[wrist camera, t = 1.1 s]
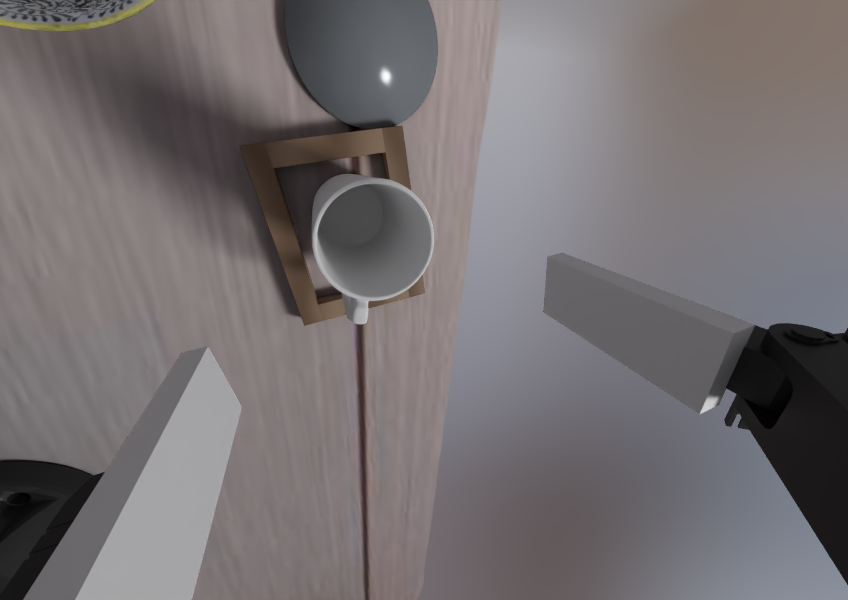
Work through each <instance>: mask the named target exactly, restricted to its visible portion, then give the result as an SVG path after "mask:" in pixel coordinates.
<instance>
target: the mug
mask: <svg viewBox="0 0 848 600" xmlns="http://www.w3.org/2000/svg"><path fill="white" fill-rule="evenodd" d="M433 246H434V230H433V225H432V221H431V218H430V215H429V213H428V211H427V209H426V207H425V206H424V204H423V203H422V201H421V200H420V199H419V198H418V197H417V196H416V195H415V194H414V193H413V192H412V191H411V190H409V189H408V188H407V187H405V186H403V185H401V184H400V183H397V182H395V181H392V180H389V179H383V178H374V177H368V176H362V175H356V174H340V175H336V176H334V177H332V178H330V179H328V180H327V181H326V182H324V183H323V184H322V185H321V187H320V188H319V189H318V191H317V193H316V195H315V198H314V202H313V208H312V248H313V254H314V257H315V261H316V263H317V266H318V268H319V269H320V271H321V273H322V274H323V276H324V277H325V279H326V280H327V281H328V282H329V283H330V284H331V285H332V286H333V287H334V288H336V289H337V290H338V291H340V292H342V298H343V303H344V308H345V312H346V315H347V317H348V319H349V320H351V321H352V322H353V323H355V324H365V323H366V322H367V317H368V302H369V301H379V300H385V299H389V298H392V297H394V296H397V295H399V294H401V293H403V292H404V291H406V290H407V289H409V288H410V287H411V286H412V285H414V284H415V283H416V282H417V281H418V279H419V278H420V277H421V276H422V274H423V273H424V271H425V270H426V268H427V266H428V264H429V262H430V259H431V256H432V252H433Z"/></svg>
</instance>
